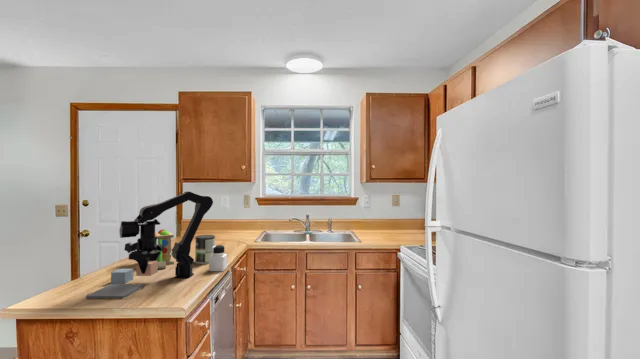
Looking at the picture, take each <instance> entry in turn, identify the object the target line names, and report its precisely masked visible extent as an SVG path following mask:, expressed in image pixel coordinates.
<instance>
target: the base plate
mask: <svg viewBox="0 0 640 359" xmlns="http://www.w3.org/2000/svg"><path fill="white" fill-rule="evenodd" d="M144 286H145V284H141V283H139V284H138V283H137V284H136V283H135V284H133V283H131V284H130V283H129V284H128V283H126V284H111V283H110V284H108V285H105V286H103V287H101V288H100V289H99V288H98V290H95V291H94V292H93V291H92V293H89V294H87V295H86V296H85V299H86V298H94V299H95V300H97V299H98V300H100V299H99V298H124V299H125V297H126V298H127V297H129V296H131V295H132V294H133V293H136V292H137V291H139V290H141V289H142V288H144ZM130 294H131V295H130ZM94 299H93V300H94Z"/></svg>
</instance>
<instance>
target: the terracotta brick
mask: <svg viewBox="0 0 640 359" xmlns="http://www.w3.org/2000/svg"><path fill="white" fill-rule="evenodd" d="M158 270H159V269H158V261H149V262H148V265H147V269H146V271H145V273H144V274H142V272H141V270H140V267H139V264H138V263H136V277H145V276H146V277H151V276H153V275H155V274H157V273H158Z"/></svg>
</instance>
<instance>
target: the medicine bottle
mask: <svg viewBox="0 0 640 359" xmlns="http://www.w3.org/2000/svg"><path fill="white" fill-rule="evenodd" d="M212 254H213V255H211V256H210V257H209V263H208V271H209V272H224V271H225V270H226V269H227V268H228V254H227V253H225V246H224V245H222V244H218V245H215V246H213V247H212Z"/></svg>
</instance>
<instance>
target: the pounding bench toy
mask: <svg viewBox="0 0 640 359" xmlns="http://www.w3.org/2000/svg"><path fill="white" fill-rule="evenodd" d="M155 237H157V239H156V240H155V244H162V245H163V246H164V251H160V250H157V251H158V252H161V254H160V255H159V257H158V259H157V261H158V270H159V269H160V270H162V269H166V267H167V266H169V265H175V260H173V259H172V239H173V238H175V234H174V233H173V232H171V231H168V230H166V229H160V230H158V231H157V232H155Z"/></svg>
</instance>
